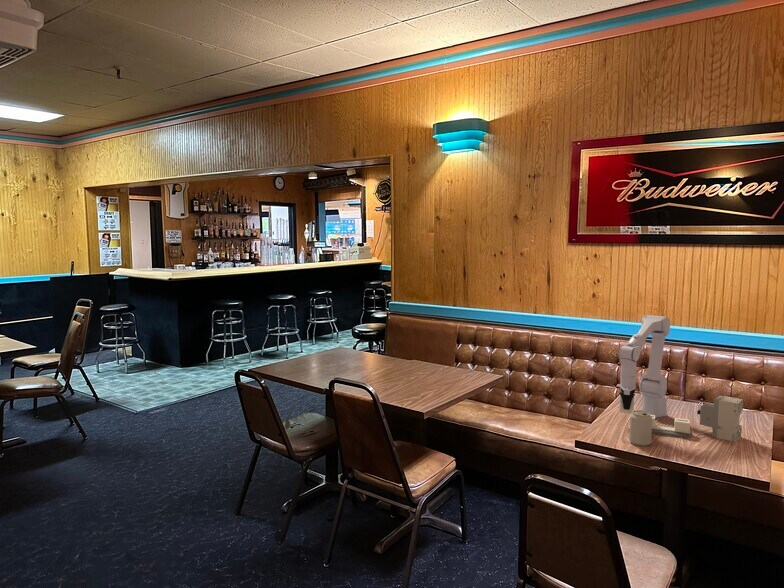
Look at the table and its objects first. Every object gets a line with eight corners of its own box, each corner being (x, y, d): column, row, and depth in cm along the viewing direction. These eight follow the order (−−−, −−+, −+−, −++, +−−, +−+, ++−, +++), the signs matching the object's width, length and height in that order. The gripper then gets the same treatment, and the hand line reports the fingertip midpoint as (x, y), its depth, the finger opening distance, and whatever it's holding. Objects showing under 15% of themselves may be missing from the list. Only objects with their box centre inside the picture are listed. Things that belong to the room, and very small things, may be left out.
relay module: (619, 412, 215) (620, 397, 214) (620, 409, 219) (620, 394, 218) (633, 413, 213) (633, 399, 212) (633, 410, 217) (634, 396, 216)
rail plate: (639, 431, 210) (639, 418, 210) (639, 424, 218) (640, 411, 218) (690, 438, 202) (691, 424, 202) (689, 431, 210) (690, 417, 210)
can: (652, 448, 193) (653, 416, 192) (629, 445, 196) (631, 414, 195) (649, 440, 200) (651, 410, 199) (628, 438, 203) (629, 408, 202)
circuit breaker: (700, 428, 214) (702, 392, 213) (741, 437, 204) (743, 399, 203) (694, 432, 209) (696, 395, 208) (736, 442, 199) (738, 403, 197)
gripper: (618, 370, 223) (617, 401, 224) (616, 378, 210) (615, 411, 211) (636, 372, 219) (635, 403, 221) (635, 380, 207) (634, 413, 208)
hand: (626, 407), depth 216 cm, fingers closed on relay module, 4 cm apart
